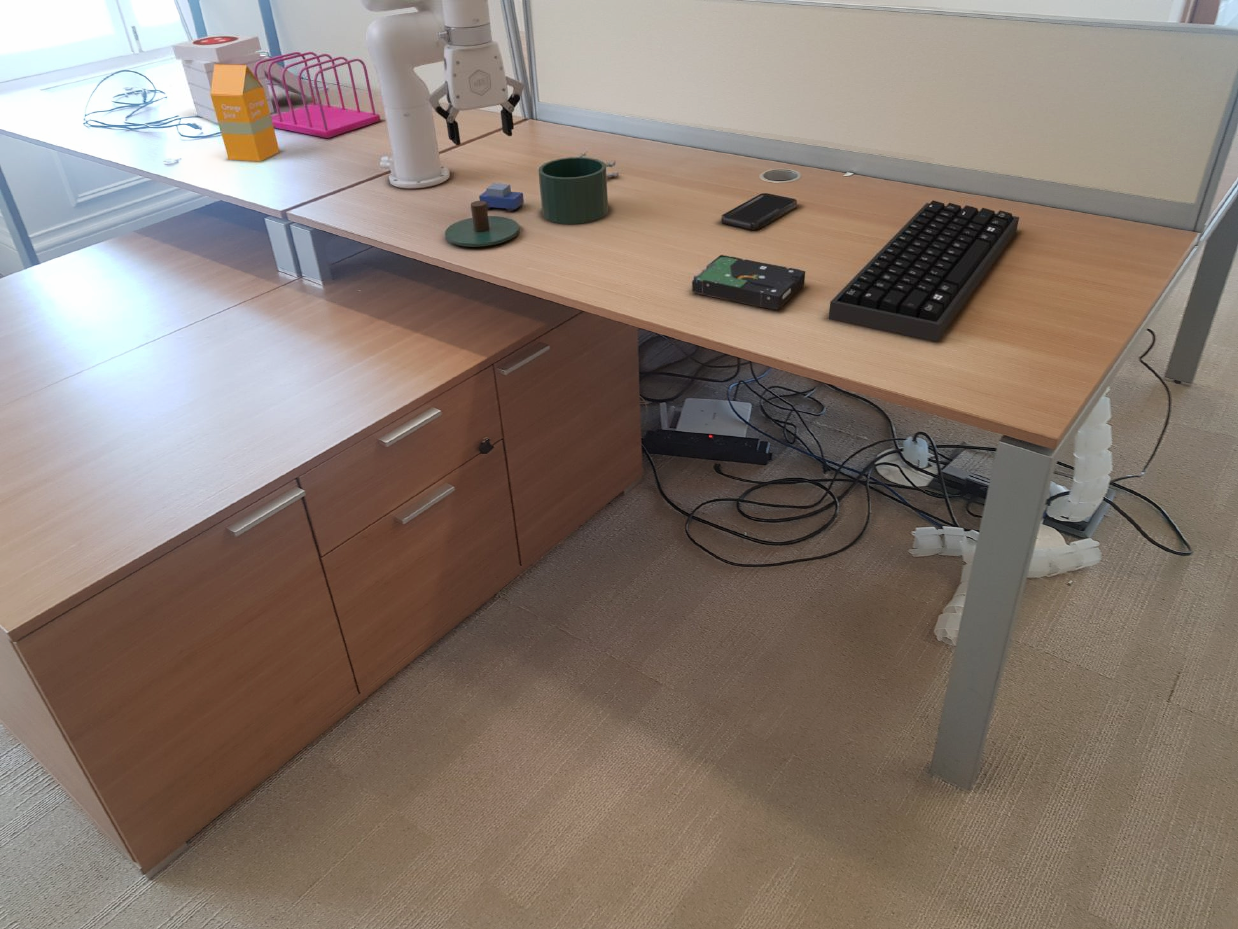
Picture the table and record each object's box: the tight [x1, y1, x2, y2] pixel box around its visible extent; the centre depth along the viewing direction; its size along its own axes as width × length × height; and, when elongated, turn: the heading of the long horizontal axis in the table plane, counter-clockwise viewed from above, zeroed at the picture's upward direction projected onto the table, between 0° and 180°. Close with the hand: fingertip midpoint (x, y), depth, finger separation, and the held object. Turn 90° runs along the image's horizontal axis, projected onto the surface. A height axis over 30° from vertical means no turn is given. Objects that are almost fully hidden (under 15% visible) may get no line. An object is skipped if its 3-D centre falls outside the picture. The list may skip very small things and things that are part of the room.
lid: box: [444, 200, 520, 248], centre depth 169 cm, size 13×13×6 cm
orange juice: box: [210, 64, 280, 163], centre depth 212 cm, size 8×9×20 cm
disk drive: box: [691, 254, 806, 311], centre depth 146 cm, size 10×3×15 cm
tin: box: [538, 156, 609, 225], centre depth 175 cm, size 12×12×8 cm
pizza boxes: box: [171, 33, 315, 125], centre depth 248 cm, size 19×30×18 cm, turn 133°
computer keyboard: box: [828, 199, 1020, 343], centre depth 148 cm, size 45×16×4 cm, turn 148°
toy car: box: [478, 182, 525, 213], centre depth 181 cm, size 8×4×4 cm, turn 69°
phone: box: [721, 192, 798, 231], centre depth 172 cm, size 8×1×15 cm
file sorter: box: [254, 51, 381, 139], centre depth 233 cm, size 17×25×16 cm
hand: (482, 138), depth 167 cm, fingers open, 9 cm apart
